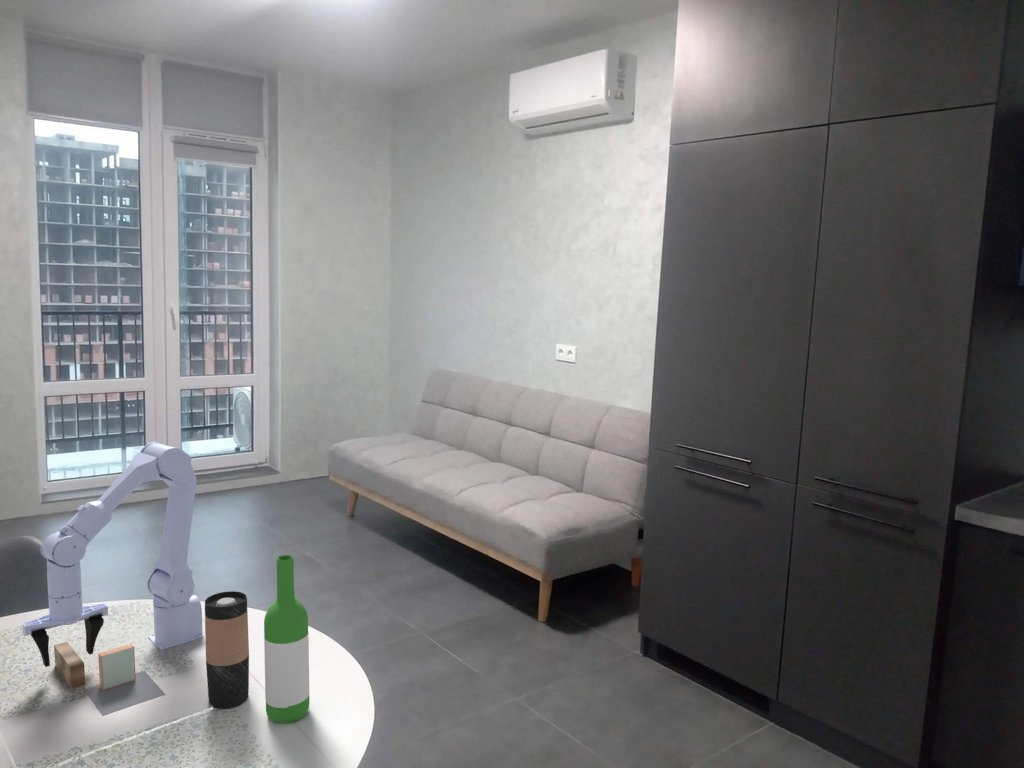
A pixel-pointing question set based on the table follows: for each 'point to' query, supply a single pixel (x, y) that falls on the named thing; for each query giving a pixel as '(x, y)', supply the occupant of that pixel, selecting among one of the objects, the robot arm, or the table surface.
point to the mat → (124, 694)
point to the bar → (69, 665)
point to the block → (117, 667)
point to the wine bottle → (286, 650)
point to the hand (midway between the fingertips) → (68, 658)
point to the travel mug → (227, 649)
